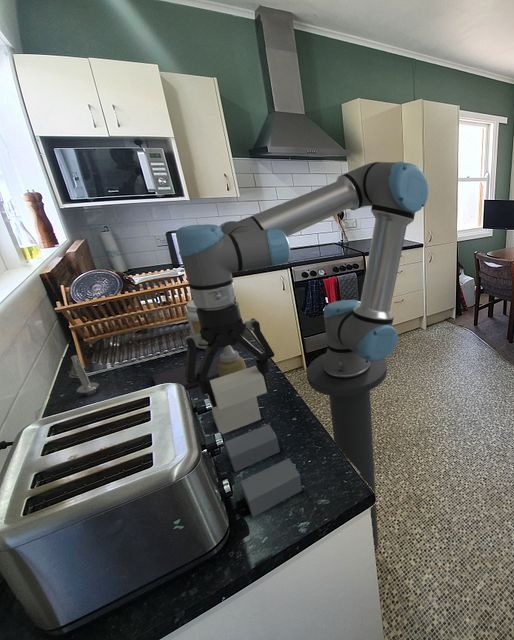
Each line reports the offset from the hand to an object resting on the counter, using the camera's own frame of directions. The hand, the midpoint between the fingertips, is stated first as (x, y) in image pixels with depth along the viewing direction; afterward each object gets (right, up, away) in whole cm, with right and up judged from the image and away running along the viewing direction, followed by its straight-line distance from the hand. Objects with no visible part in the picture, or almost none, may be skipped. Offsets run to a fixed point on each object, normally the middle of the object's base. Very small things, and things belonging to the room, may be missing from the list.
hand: (239, 394), depth 79 cm
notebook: (-32, -1, +34) cm, 47 cm away
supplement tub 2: (-40, +8, +54) cm, 68 cm away
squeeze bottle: (-13, -6, +24) cm, 28 cm away
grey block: (+1, -15, +4) cm, 16 cm away
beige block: (-8, -6, +12) cm, 16 cm away
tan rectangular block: (0, 0, 0) cm, 0 cm away
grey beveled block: (+10, -20, -6) cm, 23 cm away
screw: (-58, -5, +24) cm, 62 cm away
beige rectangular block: (-8, -10, +14) cm, 19 cm away
